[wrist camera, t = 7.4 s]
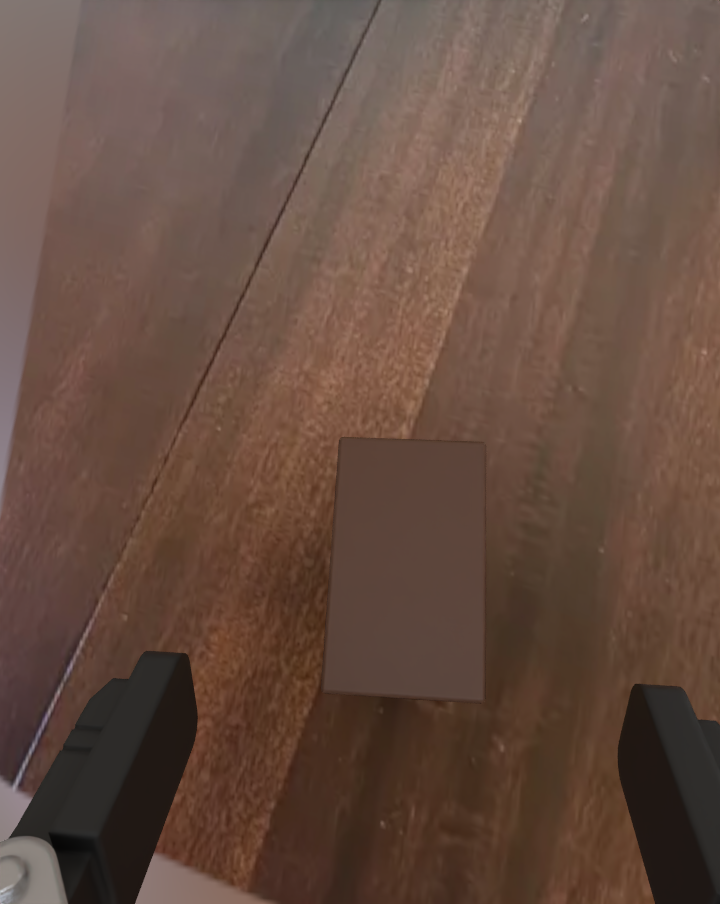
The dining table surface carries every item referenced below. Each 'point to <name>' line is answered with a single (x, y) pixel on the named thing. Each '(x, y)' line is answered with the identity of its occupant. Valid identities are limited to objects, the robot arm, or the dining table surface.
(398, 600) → the chocolate bar
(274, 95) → the dining table surface
